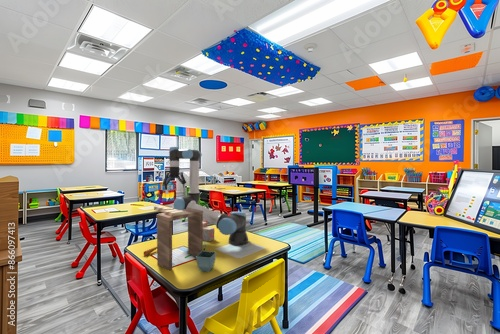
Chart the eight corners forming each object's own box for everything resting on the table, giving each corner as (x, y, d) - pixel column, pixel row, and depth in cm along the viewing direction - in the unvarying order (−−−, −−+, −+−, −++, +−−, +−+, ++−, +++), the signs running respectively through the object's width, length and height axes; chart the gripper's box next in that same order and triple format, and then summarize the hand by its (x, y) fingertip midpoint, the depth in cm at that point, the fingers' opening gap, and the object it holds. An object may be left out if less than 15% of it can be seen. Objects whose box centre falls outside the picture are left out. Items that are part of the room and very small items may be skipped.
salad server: (150, 210, 151) (150, 207, 151) (160, 209, 156) (160, 205, 156) (173, 216, 134) (173, 212, 134) (183, 214, 140) (183, 210, 140)
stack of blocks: (214, 239, 187) (214, 224, 186) (208, 241, 182) (208, 225, 182) (198, 234, 201) (198, 220, 200) (191, 236, 196) (191, 221, 196)
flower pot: (211, 273, 129) (210, 257, 129) (195, 272, 131) (195, 256, 131) (216, 267, 138) (216, 251, 137) (202, 265, 139) (202, 250, 139)
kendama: (141, 249, 156) (163, 238, 174) (143, 258, 156) (165, 246, 174) (147, 249, 153) (169, 237, 172) (149, 258, 153) (171, 245, 172)
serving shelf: (190, 252, 160) (189, 207, 160) (203, 257, 151) (203, 210, 151) (156, 264, 142) (156, 214, 141) (169, 270, 133) (169, 217, 132)
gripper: (185, 166, 199) (185, 191, 200) (157, 166, 180) (157, 194, 180) (190, 166, 194) (190, 191, 195) (162, 166, 175) (162, 195, 176)
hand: (174, 193), depth 188 cm, fingers open, 13 cm apart
